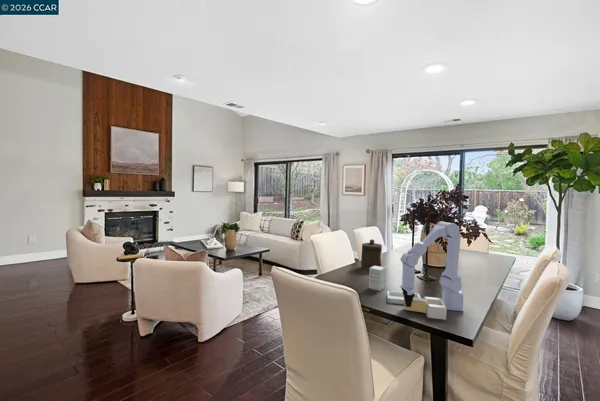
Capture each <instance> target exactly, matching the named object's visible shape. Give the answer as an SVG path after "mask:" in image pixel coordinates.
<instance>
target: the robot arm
mask: <svg viewBox="0 0 600 401" xmlns="http://www.w3.org/2000/svg"><path fill="white" fill-rule="evenodd" d="M441 237H442V238H444V237H445V238H446V240H447V249H446V250H447V251H446V259H445V261H446V262H445V269H444V271H442V272H441V276H440V278H439V284H440V286H441V290H442V291H441V299H442V301H443V303H444V305H445V306H446V308H447V311H448V310H449V311H456V312H457V311H459V312H464V294H463V291H461V290H462V287H463V283H462V281H461V280H462V279H461V278H462V277H461V276H460V274H459V273H458V269H459V260H460V249H461V239H462V238H461V234H460V227H459V226H458V225H457V224H456V223H454V222H453V223H452V222H446V221H442V220H440V221H438V222H437V223H436V224H435V225H433V227H432V229H431V231H430V232H429V233H428V234H427V235H426V237H424V239H423V240H422V241H421V242H419V241H418V242H415V243H414V245H413V246H412V247H411V248H410V249H409V250H408V251H407V252H404V253H403V254H402V255H401V257H400V262H401V264H402V275H401V279H402V281H401V282H402V283H401V284H399V287H400V288H401V290H402V291H401V292H403V295H404V301H405V304H406V307H411V304H412V300H413V298H414V296H415V293H416V292H413V291H414V290H415V289H416V288H415V275H416V266H417V265H418V263H419V260H420V258H421V257H422V256H423V255H424V254H425V253H426V252H427V251H428V247H429V246H430V245H431V244H432V243H433V242H435V241H436V240H437V239H438V238H441Z"/></svg>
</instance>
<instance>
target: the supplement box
mask: <svg viewBox="0 0 600 401" xmlns="http://www.w3.org/2000/svg"><path fill="white" fill-rule="evenodd" d="M368 273H369V274H368V288H369V289H370V290H375V291H379V292H380V291H382V290H383V289H385V288H386V267H385V266H381V267H379V266H373V267H370V268H369V272H368Z"/></svg>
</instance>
